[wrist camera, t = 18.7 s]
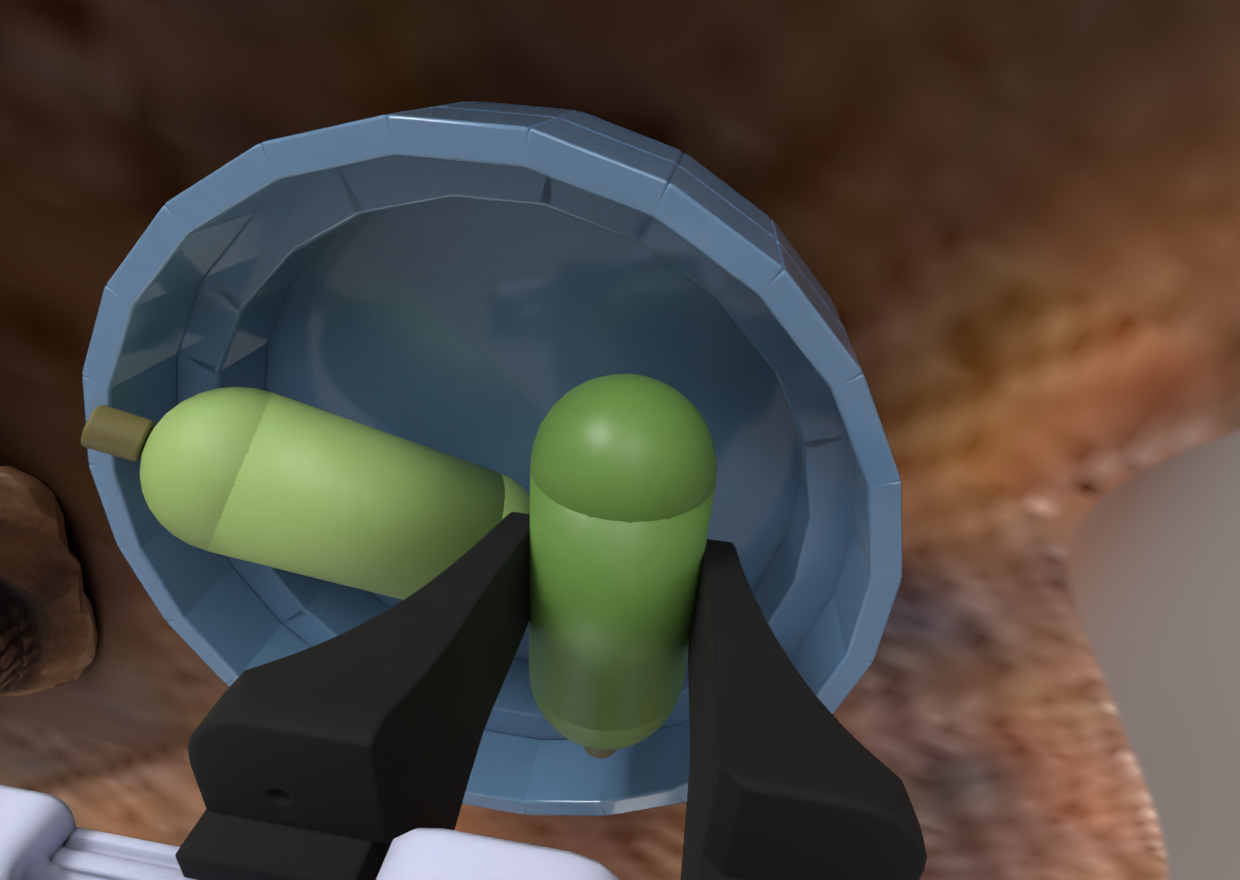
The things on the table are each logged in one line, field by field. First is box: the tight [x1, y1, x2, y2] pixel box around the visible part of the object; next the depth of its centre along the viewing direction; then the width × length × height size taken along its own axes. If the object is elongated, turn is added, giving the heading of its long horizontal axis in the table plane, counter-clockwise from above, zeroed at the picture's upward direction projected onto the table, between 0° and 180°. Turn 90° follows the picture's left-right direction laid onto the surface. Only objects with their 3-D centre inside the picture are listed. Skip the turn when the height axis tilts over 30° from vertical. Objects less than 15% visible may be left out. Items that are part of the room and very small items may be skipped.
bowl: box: [82, 101, 902, 816], centre depth 17 cm, size 17×17×4 cm
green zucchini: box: [529, 374, 717, 759], centre depth 15 cm, size 10×4×4 cm, turn 176°
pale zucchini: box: [81, 387, 530, 600], centre depth 16 cm, size 10×4×4 cm, turn 58°
